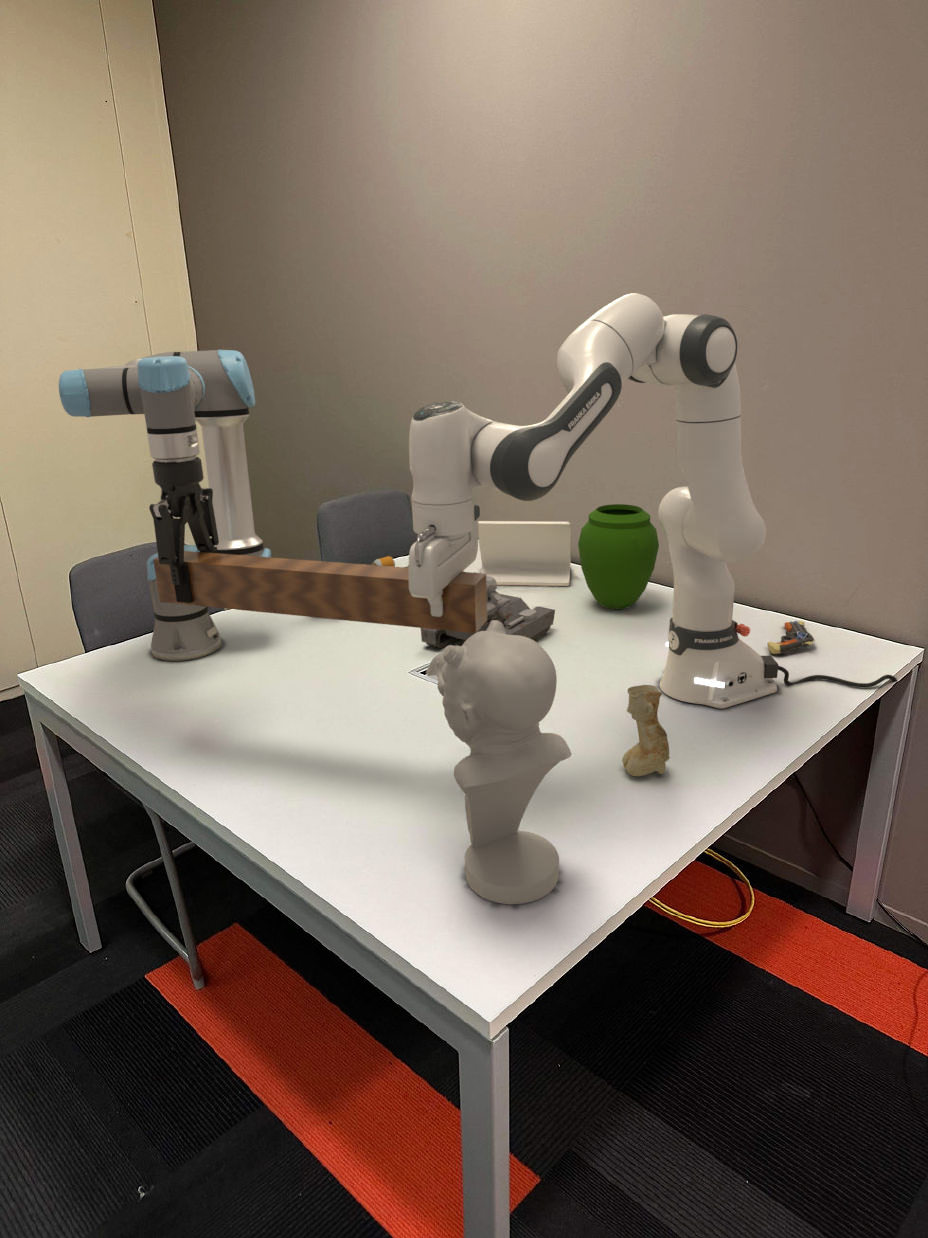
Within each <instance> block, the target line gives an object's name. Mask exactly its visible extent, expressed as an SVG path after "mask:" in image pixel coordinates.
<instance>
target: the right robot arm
mask: <svg viewBox="0 0 928 1238" xmlns="http://www.w3.org/2000/svg"><path fill="white" fill-rule="evenodd" d="M556 355H557V356H556V372H557V375H558V378H559V381H560V383H561V385H562V387H563V388H564V389H565V391H566V392H567V395H566V396H565V397H564V398H563V399H562V401H560V403H559V404H558V405H557V406H556V407H555V409H554V410H553V411H552V412H551V413H550V414H549V415H548V416H547V417H546V418H545V419H544V420H543V421H541V422H538V423H535V424H530V425H517V424H511V423H510V424H509V423H506V422H500V421H495V420H492V419H489V418H486V417H484V416H481V415H479V414H476V413H475V412H473V411H471V410H470V409H468V408H467V407H466V406H465V405H464V404H463V403H462V402H459V401H455V400H454V401H453V400H452V401H451V400H449V401H442V402H433V403H430V404H427V405H425V406H422V407H421V408H418V410H417V411H415V412H414V414H413V416H412V418H411V421H410V425H409V435H408V461H409V472H410V474H411V478H412V487H413V488H412V491H411V495H410V497H411V516H412V530H413V532H414V533H415V534H417V535H416V541H415V542H413V543H412V544H411V546H410V549H409V553H408V565H409V591H410V593H411V595H412V596H413V597H418V598H427V599H428V601H429V604H430V608H431V615H432V616H436V617H441V616H442V615H443V614H444V613H445V603H443V601H442V596H441V595H442V594H443V589H444V588H445V587H446V586H447V585H448V584H449V583H450V582H451V581H452V580H453V579H455V578H456V577H457V576H458V575H459V574H460V573H461V572H465V570H466V569H467V568H468V567H470V565H472V564H473V563H474V562H475V561H476V559H477V555H478V553H479V552H478V551H479V538H478V529H479V528H478V521H479V519H480V518H481V516H482V507H481V504H480V503H477V502H474V501H473V489H474V488H475V487H484V488H486V489H488V490H492V491H497V492H501V493H503V494H506V495H508V496H510V497H512V498H515V499H517V500H520V501H523V502H533V501H536V500H539V499H541V498H543V497H544V496H546V495H547V494H549V492H551V490H552V489H553V488H554V487H555V486H556V485H557V483H558V481H559V480H560V478H561V476H562V474H563V473H564V470H565V468H566V466H567V464H569V462H570V460H571V458H572V457H573V455H574V454H575V453H576V452H577V450H578V449H579V448H580V447H581V446H582V445H583V444H584V442H585V441H586V440H587V439H588V438H589V437H590V435H591V434H592V433H593V432H594V430H595V429H596V428H597V427H598V426H599V424H601V422H602V421H603V420H604V419H605V417H606V416H607V415H608V414H609V412H610V411H611V410H612V408H613V407H614V406H615V404H616V403H617V401H618V399H619V397H620V396H621V392H622V389H623V387H622V386H623V384H624V383H625V382H626V381H628V380H630V381H632V382H634V383H639V384H646V383H647V384H653V385H658V386H674V388H675V390H676V394H675V395H676V397H675V444H676V445H675V446H676V447H675V450H676V453H675V454H676V463H677V466H678V468H679V471H681V474H682V476H683V477H684V481H685V483H686V486H678V487H675V488H672V489H671V490H670V491H668V492H667V493H666V494H664V496H663V498H662V499H661V502H659V503H660V504H659V506H658V510H657V511H658V512H657V516H658V517H657V518H658V522H659V525H660V526H661V528H662V530H663V532H664V535H665V537H666V542H667V548H668V552H669V558H670V563H671V570H672V578H673V597H672V614H671V615H672V617H671V618H670V619H669V626H668V641H666V642H665V647H668V652H667V659H666V664H665V667H664V671H663V674H662V676H661V679H660V682H659V689H660V690H661V692H663V694H665V695H666V696H668V697H670V698H672V699H675V700H678V701H681V702H684V703H689V704H696V705H705V706H708V707H712V708H716V709H726V708H729V707H733V706H737V705H740V704H742V703H746V702H749V701H752V700H756V699H759V698H762V697H765V696H768V695H772V694H775V693H777V692H778V685H777V682H776V681H775V680H774V679H778V674H779V671H780V672H782V673H783V674H784V677H783V683H784V684H785V685H786V686H795V685H797V684H802V683H806V682H809V681H812V680H826V681H831V682H836V683H839V684H843V685H846V686H851V687H854V688H855V687H856V688H872V687H875V686H878V685H879V684H881V683H882V682H884V681H885V680H891V681H892V682H898V679H897V678H896V677H895V676H894V675H892V674H884V675H882V676H880V677H879V678H877V679H876V680H874V681H871V682H866V683H865V682H864V683H863V682H855V681H850V680H846V679H843V678H840V677H835V676H831V675H823V674H812V675H808V676H805V677H804V678H801V679H799V680H796V681H789V678H790V673H789V671H788V670H787V668H785V667H783V666H781V665H779V663H778V662H777V661H776V659H775V658H774V657H773V656H772V655H771V654H770V655H760V653H758V652H757V651H756V650H755V649H753V648H752V647H751V646H749V645H748V644H747V643H746V642H744V641H742V639H740V638H739V635H741V636H742V637H749V635H750V634H751V628H750V627H749V626H748V625H746V624H744V623H739V624H738V622H737V621H736V620H733V615H734V614H733V613H734V604H735V603H734V602H735V591H736V587H735V586H736V585H735V581H734V579H733V576H732V575H731V573H730V569H729V568H728V564H727V563H731V564H742V563H745V562H748V561H750V560H751V559H754V557H756V555H758V553H759V552H760V551H761V549H762V547H763V546H764V543H765V541H766V537H767V527H766V523H765V521H764V519H763V517H762V516H761V514H760V513H759V511H758V510H757V508H756V506H755V504H754V501H753V498H752V496H751V492H750V489H749V484H748V481H747V477H746V473H745V469H744V461H743V453H742V399H741V398H742V397H741V396H742V395H741V388H740V381H739V375H738V369H737V364H736V359H737V355H738V339H737V335H736V333H735V330H734V329H733V327H732V325H731V323H730V322H729V321H728V320H726V319H725V318H724V317H723V318H722V317H720V316H717V315H713V314H708V313H707V314H706V313H705V314H700V315H699V314H687V313H686V314H684V313H676V314H675V313H674V314H669V315H663V312H662V311H661V309H660V307H659V306H658V304H657V303H656V302H655V301H654V300H653V299H651V298H650V297H649V296H647V295H644V294H642V293H634V292H633V293H628V294H625V295H622V296H621V297H618V298H617V299H615V300H613V301H612V302H610V303H608V304H607V305H605V306H603V307H602V308H601V309H599V310H598V311H596V312H595V313H594V314H592V315H591V316H589V318H587V319H586V320H585V321H584V322H583V323H581V324H580V325H579V326H578V327H577V328H576V329H574V330H573V331H572V333H570V334H569V335H568V337H567V338H566V339H565V340H564V341H563V342H562V344H561V345H560V347H559V348H558V350H557V354H556Z"/></svg>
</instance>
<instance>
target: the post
mask: <svg viewBox="0 0 928 1238" xmlns="http://www.w3.org/2000/svg"><path fill="white" fill-rule="evenodd" d="M176 558H177V557H176ZM153 562H154V568H155V574H156V580H157V586H158V592H159V598H160V602H165V603H175V604H185V605H195V606H205V607H208V608H215V609H225V610H226V609H227V610H237V611H247V612H248V611H249V612H257V613H266V614H267V613H268V614H277V615H285V616H286V615H287V616H296V617H298V616H299V617H307V618H317V619H318V618H319V619H326V620H327V619H328V620H337V621H338V620H339V621H347V622H357V623H358V622H359V623H368V624H377V625H378V624H379V625H388V626H389V625H390V626H398V627H407V628H408V627H409V628H410V627H411V628H427V629H437V630H447V631H457V632H468V633H476V632H477V631H478V630H479V629H480V628H481V627H482V626H483V625H484V623H485V622H486V621H487V588H486V574H484V573H480V572H469V571H464V572H461V573H460V574H459V575H458V576H457V577H456V578H455V579H453V580H452V581H451V582H450V583H449V584H448V585H447V586H446V587H445V588H444V589H443V594H442V595H441V596H442V601H443V603H445V613H444V614H443V615H442V616H441V617H436V616H432V615H431V608H430V604H429V601H428V599H427V598H418V597H413V596H412V595H411V593H410V591H409V568H405V567H406V566H395V567H391V566H378V565H371V564H365V563H349V562H339V561H324V560H323V561H322V560H312V559H311V560H310V559H297V558H285V557H284V558H283V557H272V556H271V557H259V556H246V555H232V554H219V553H206V552H193V551H184V564H188V570H189V576H190V583H191V590H192V596H193V602H192V603H184V602H177V600H176V593H175V587H174V584H173V582H172V576H171V571H170V566H169V565H163V564H160V563H159V558H158V557H157V558H155V559H153Z"/></svg>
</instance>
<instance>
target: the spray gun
mask: <svg viewBox="0 0 928 1238" xmlns="http://www.w3.org/2000/svg"><path fill="white" fill-rule="evenodd" d="M370 565H378V566H391V567H396V562H395V560H394V558H393V557H392V556H390V555H388V556H383V557H380V558H376V559H375V560H374V561H373V562H371V564H370ZM404 567H405V568H409V564H408V565H407V566H404Z"/></svg>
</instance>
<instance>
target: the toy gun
mask: <svg viewBox="0 0 928 1238" xmlns="http://www.w3.org/2000/svg"><path fill="white" fill-rule="evenodd" d="M805 627H806V622H805V621H803V620H794V621H793V620H792V621H787V622H784V629H785V630H786V631H785V635H782V636H781V637H780V641H779V642H774V641H771V640H770V641H768V642H767V649H768V651H769V652H770V653H771V654H772V655H779V654H782V653H787V652H790V651H793V650H796V649H799V648H803V647H804V646H807V645H809V646H812V645H813V643H814V642H816V639H815V638H814V637H813V635H812V634H811V633H809V631H807V629H806V628H805Z"/></svg>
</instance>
